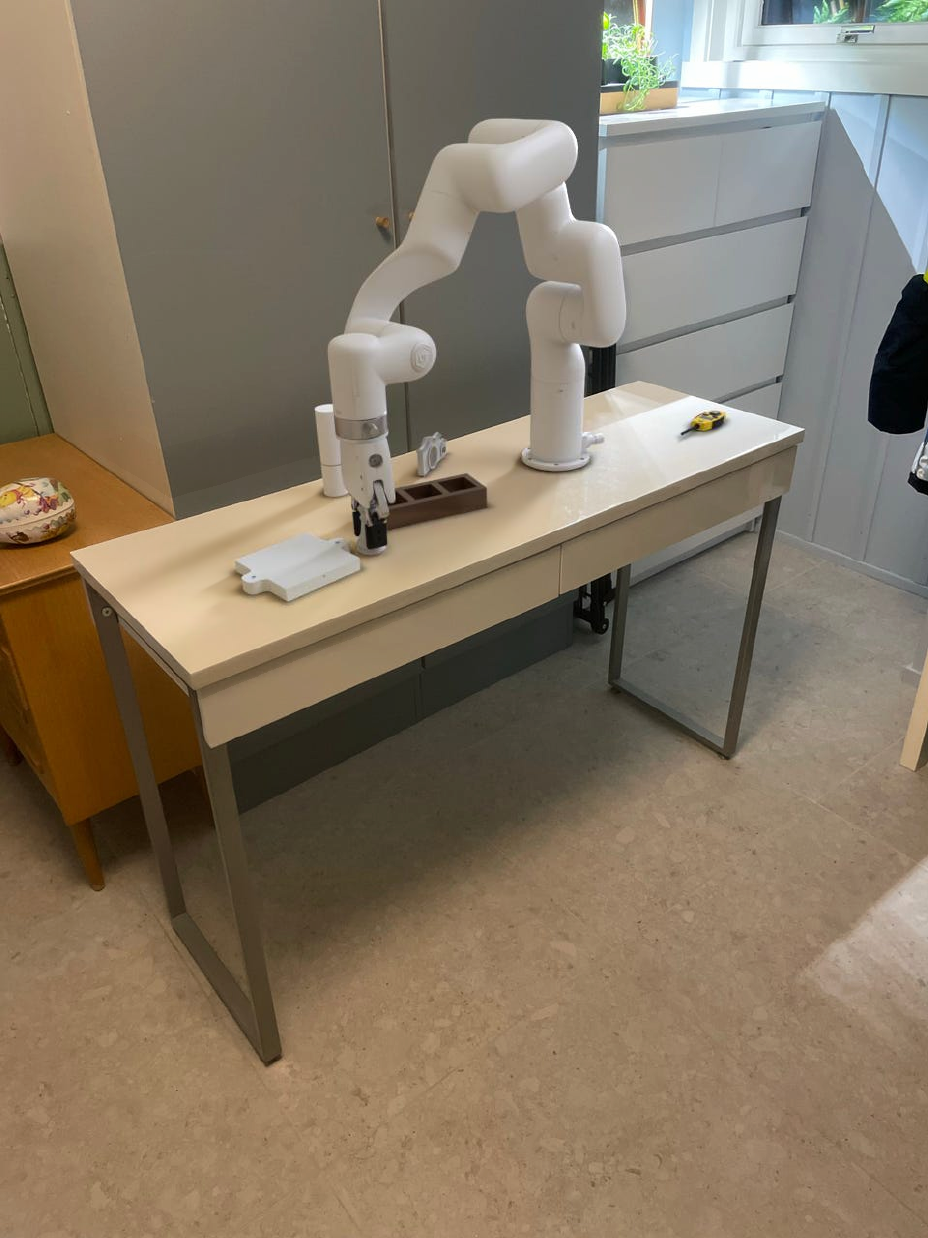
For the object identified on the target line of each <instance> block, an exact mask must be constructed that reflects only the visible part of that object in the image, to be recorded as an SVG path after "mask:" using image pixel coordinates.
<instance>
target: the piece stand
mask: <svg viewBox="0 0 928 1238" xmlns="http://www.w3.org/2000/svg"><path fill="white" fill-rule="evenodd" d="M394 489H395V502H394V503H389V502H388V501H387V500H386V502H387V505H388V509H389V515H388V516H387V517H386V519H387V522H386V529H387V531H390V530H394V529H398V528H399V529H400V528H403V527H408V526H412V525H416V524H420V523H424V522H428V521H433V520H438V519H441V518H447V517H450V516H455V515H459V514H463V513H467V512H472V511H477V510H481V509H484V508H488V487H486V486H485V485H484V484H482V483H481V482H480V481H478V480H477V479H476V478H474V477H473V476H471V475H470V474H469V473H467V472H466V473H460V474H456V475H452V476H447V477H446V476H445V477H441V478H439V479H438V478H437V479H433V480H428V481H424V482H419V483H414V484H409V485H405V486H404V485H403V486H399V487H394ZM374 501H375V500H374Z"/></svg>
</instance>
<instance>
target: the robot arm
mask: <svg viewBox="0 0 928 1238" xmlns="http://www.w3.org/2000/svg"><path fill="white" fill-rule="evenodd" d="M578 151H579V150H578V142H577V138H576V135H575V134H574V131H573V130H572V129H571V127H570V126H568V125H567V124H566V123H564V122H562V121H560V120H552V119H524V118H488V119H485V120H482V121H479V122H478V123H477V124H475V125H474V126H473V128H472V129H471V130H470V132H469V135H468V138H467V142H465V143H464V142H462V143H453V144H449V145H446V146H445V147H443V148H442V149H441V150H439V152H438V153H436V155H435V157H434V159H433V162H432V164H431V166H430V168H429V172H428V175H427V177H426V180H425V182H424V185H423V188H422V190H421V192H420V196H419V199H418V200H417V204H416V206H415V210H414V213H413V214H412V218H411V220H410V222H409V226H408V229H407V231H406V234H405V236H404V239H403V241H402V242H401V244H400V245H399V247H397V248H396V249H395V250H394V251H393V252H392V253H390V254H389V255H388V256H386V258H385V259H384V260H383V261H382V262H381V263H380V264H379V265H378V266H377V267H376V268H375V269H374V270H373V271H372V273H370V275H369V276H368V277H367V278H366V279H365V280H364V282H363V283H362V285H360V286H361V287H360V288H359V290H358V292H357V294H356V296H355V298H354V300H353V303H352V306H351V309H350V312H349V315H348V317H347V320H346V323H345V327H344V332H343V334H340V335H337V336H335V337H333V338H332V339H331V340H330V341H329V342H328V345H327V360H328V372H329V381H330V392H331V393H330V394H331V401H332V402H331V404H333V413H334V424H335V434H336V438H337V439H338V440H340V455H341V469H342V478H343V483H344V487H345V489H346V490H347V491H348V494H349V496H350V507H351V511H352V512H351V514H352V515H351V516H352V525H353V527H352V528H353V534H354V536H355V537H359V535H360V533H361V520H360V518H359V517H360V516H361V513H360V512H359V511H358V510H357V508H358V506H359V503H360V504H361V505H362V506H364V508H365V515H366V521H367V524H365V535H366V546H367V548H368V549H369V550H371V549H375V548H379V547H383V546H386V547H387V545H388V530H387V529H386V522H387V519H386V517H387V516H388V515H389V509H388V505H387V502H386V500H387V501H388V502H389V503H394V502H395V482H394V481H395V480H394V472H393V465H392V458H391V452H390V447H389V443H388V439H387V437H388V435H389V423H388V411H387V396H386V387H387V386H388V385H392V384H400V383H410V382H414V381H417V380H420V379H422V378H423V377H425V376H426V375H427V374H428V373H429V372H430V371H431V370H432V368H433V367H434V364H435V363H436V358H437V347H436V343H435V342H434V339H433V338H432V337H431V335H430V334H429V333H428V332H426V331H425V330H423V329H420V328H418V327H415V326H411V325H407V324H403V323H398V322H394V321H390V320H391V318H392V315H393V313H394V312H395V310H396V309H397V307H398V306H399V305H400V303H402V301H403V300H404V299H405V298H406V297H407V296H409V295H410V294H411V293H413V292H414V291H416V290H418V289H420V288H422V287H424V286H426V285H429V284H431V283H433V282H435V281H439V280H440V279H443V278H445V277H447V276H450V275H451V274H453V273H454V272H456V271H457V269H458V268H459V267H460V264H461V262H462V259H463V256H464V253H465V251H466V248H467V245H468V243H469V241H470V237H471V235H472V233H473V232H472V231H473V230H474V227H475V224H476V221H477V219H478V216H479V214H480V213H482V212H488V213H498V214H499V213H500V214H507V213H512V212H515V216H516V221H517V226H518V231H519V236H520V237H519V238H520V242H521V248H522V252H523V258H524V262H525V264H526V269H527V270H528V272H529V273H530V275H532V276H533V277H535V278H537V279H539V280H542V281H544V282H541V283H539V284H538V285H536V286H535V287H534V288H533V289H532V290H531V291H530V293H529V295H528V296H527V300H526V304H525V319H526V324H527V331H528V337H529V345H530V417H529V420H530V421H529V428H530V429H529V445H528V446H527V447H525V448H524V449H523V450H522V452H521V455H520V456H521V461H522V463H523V464H525V465H526V466H527V467H530V468H532V469H536V470H540V471H545V472H546V471H547V472H567V471H572V470H578V469H581V468H582V467H584V466H586V465H587V464H588V463H589V462H590V457H591V454H590V452H589V451H588V448H590V447H591V446H593V445H594V446H595V445H599V444H600V445H601V444H603V443H604V442H605V435H604V433H602V432H597V433H594V434H591V432H590V431H583V423H584V402H585V401H584V400H585V399H584V398H585V378H586V362H585V357H584V354H583V351H582V348H581V346H585V347H592V348H608V347H611V346H613V345H615V344H616V343H617V342H618V341H619V340H620V339H621V337H622V335H623V333H624V331H625V327H626V323H627V322H626V321H627V302H626V290H625V280H624V274H623V273H624V271H623V264H622V263H623V262H622V257H621V256H622V254H621V249H620V248H621V247H620V244H619V241H618V238H617V236H616V235H615V233H614V232H613V230H612V229H611V228H610V227H608V226H607V225H606V224H604V223H600V222H596V221H588V220H579V219H577V218H575V217H574V215H573V214H572V209H571V204H570V200H569V195H568V189H567V185H566V181H567V180H568V179H569V177H570V176H571V175H572V173H573V171H574V169H575V167H576V164H577V161H578V154H579V153H578ZM372 500H375V503H371V504H370V501H372ZM374 508H377V511H376V512H374V513H373V514H372V515H371V509H374Z"/></svg>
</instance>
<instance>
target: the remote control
mask: <svg viewBox="0 0 928 1238" xmlns="http://www.w3.org/2000/svg"><path fill="white" fill-rule="evenodd" d="M726 416H727V413H726V412H725V411H720V410H716V409H715V410H709V411H703V412H701V413H699V414H697V415H695V416H694V418H693V419H692V421H691V427H690V428H688V429H686V430H683V431H681V432H680V436H684V435H686V434H689V433H690V432H692V431H694V430H696V431H701V432H705V431H709V430H714V429H717V428H719V427H721V426H722V425H723V424H724V422H725V421H726V418H727V417H726Z"/></svg>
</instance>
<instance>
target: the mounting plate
mask: <svg viewBox="0 0 928 1238" xmlns="http://www.w3.org/2000/svg"><path fill="white" fill-rule="evenodd" d="M350 548H351V547H350V541H349V539H346V538H344V537H334V538H332V539H326V540H325V539H322V538H320V537H318V536H316V535H314V534H312V533H310V532H308V531H305V532H303V533H300V534H297V535H295V536H293V537H290V538H287V539H285V540H283V541H280V542H278V543H274V544H272V545H269V546H267V547H264V548H262V549H259V550H256V551H255V552H252V553H249V554H247V555H244V556H242V557H240V558H236V559H234V563H235V569H236V572H237V573H238V574H240V575H242V576H241V584H242V590H243V591H244V592H245V593H246V594H248V595H251V596H253V595H258V594H261V593H264V592H270V593H272V594H274V595H275V596H277V597H279V598H281V599H282V600H284V601H286V602H290V601H292V600H295V599H297V598H300V597H301V596H304V595H306V594H308V593H312V592H313V591H316V590H317V589H320V588H322V587H325V586H326V585H327V586H328V585H329V584H331V583H334V582H336V581H338V580H341V579H342V578H345V577H348V576H350V575H352V574H354V573H356V572H359V571H361V559H360V557H359V556H356V555H355V554H353V553H351V549H350Z"/></svg>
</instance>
